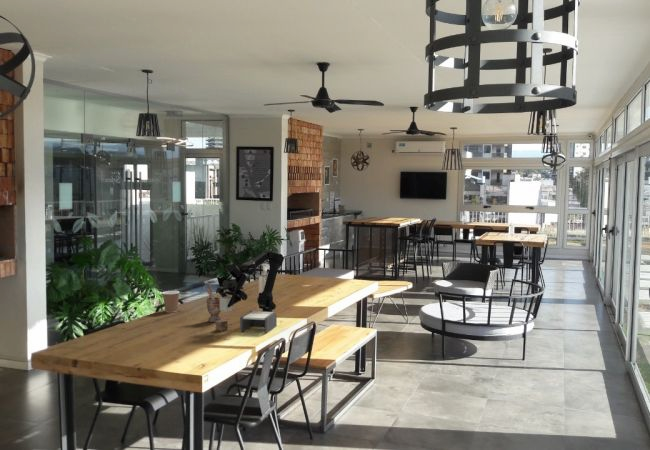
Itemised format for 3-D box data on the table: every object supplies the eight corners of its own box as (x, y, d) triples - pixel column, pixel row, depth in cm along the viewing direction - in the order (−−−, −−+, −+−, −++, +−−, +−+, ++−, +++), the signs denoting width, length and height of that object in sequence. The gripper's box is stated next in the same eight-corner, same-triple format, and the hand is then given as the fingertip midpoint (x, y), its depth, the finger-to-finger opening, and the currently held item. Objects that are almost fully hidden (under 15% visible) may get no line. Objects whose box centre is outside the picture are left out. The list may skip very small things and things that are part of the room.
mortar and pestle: (199, 321, 360) (199, 286, 358) (209, 318, 367) (208, 284, 366) (216, 323, 354) (215, 288, 353) (225, 320, 362) (224, 286, 360)
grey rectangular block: (226, 308, 340) (226, 296, 339) (233, 310, 337) (232, 297, 336) (219, 310, 336) (219, 297, 335) (226, 311, 333) (226, 298, 332)
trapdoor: (253, 316, 349) (253, 310, 348) (273, 317, 346) (273, 311, 346) (243, 323, 334) (243, 316, 333) (264, 324, 331) (264, 317, 331)
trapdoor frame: (251, 324, 350) (250, 310, 349) (276, 326, 346) (276, 311, 346) (240, 331, 334) (240, 317, 333) (266, 333, 330) (266, 318, 330)
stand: (222, 328, 342) (222, 319, 341) (227, 329, 339) (227, 320, 338) (215, 330, 338) (215, 320, 338) (221, 331, 335) (220, 322, 335)
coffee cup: (182, 309, 392) (181, 290, 391) (176, 313, 382) (176, 293, 381) (166, 309, 393) (165, 290, 392) (160, 313, 383) (159, 293, 382)
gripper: (218, 272, 344) (204, 295, 336) (243, 275, 332) (228, 299, 325) (229, 284, 351) (215, 307, 343) (253, 288, 339) (239, 311, 332)
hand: (224, 306), depth 335 cm, fingers closed on grey rectangular block, 5 cm apart
